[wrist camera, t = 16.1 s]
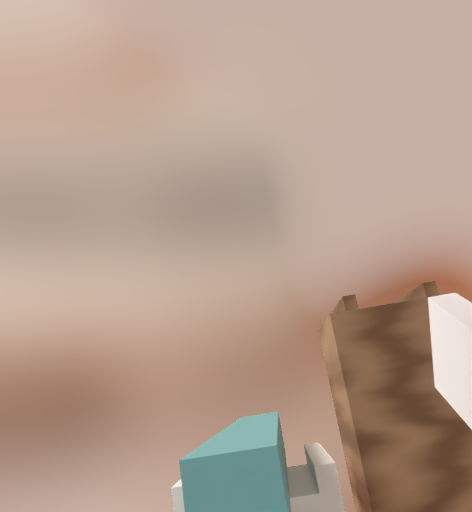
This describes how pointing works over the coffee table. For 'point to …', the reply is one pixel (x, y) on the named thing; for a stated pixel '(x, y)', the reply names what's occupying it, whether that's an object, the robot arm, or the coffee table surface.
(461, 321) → the robot arm
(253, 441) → the block
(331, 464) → the tall white pillar
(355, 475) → the stand
